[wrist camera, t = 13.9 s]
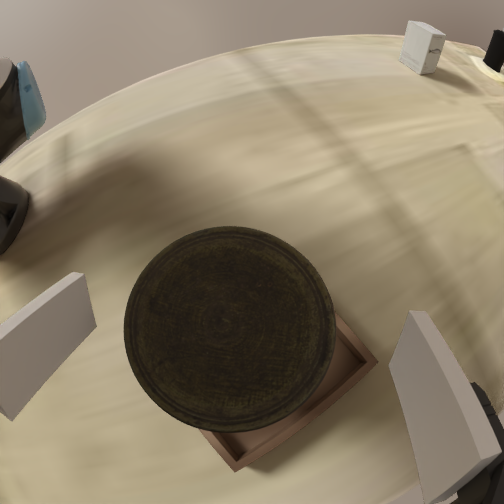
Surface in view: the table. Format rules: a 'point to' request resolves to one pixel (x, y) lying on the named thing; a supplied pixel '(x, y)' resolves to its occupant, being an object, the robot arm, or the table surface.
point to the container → (229, 329)
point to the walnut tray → (329, 391)
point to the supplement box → (422, 47)
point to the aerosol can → (495, 51)
